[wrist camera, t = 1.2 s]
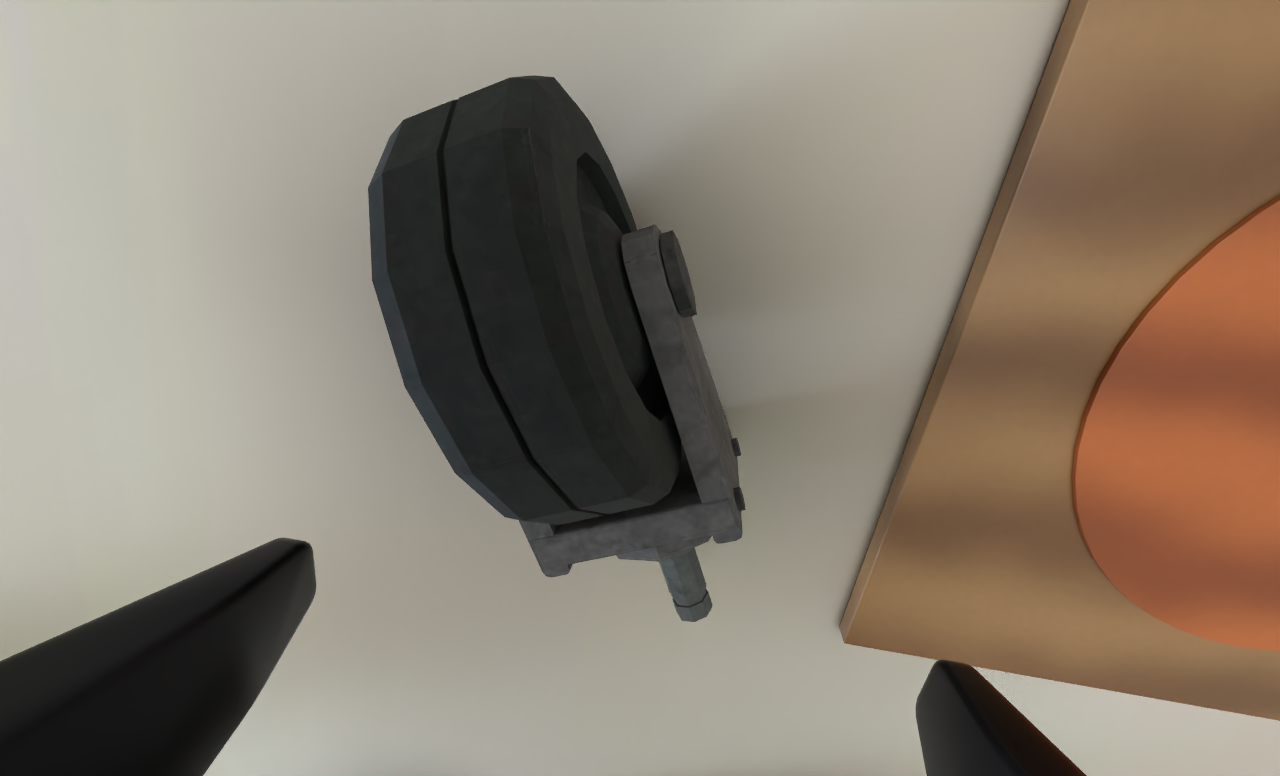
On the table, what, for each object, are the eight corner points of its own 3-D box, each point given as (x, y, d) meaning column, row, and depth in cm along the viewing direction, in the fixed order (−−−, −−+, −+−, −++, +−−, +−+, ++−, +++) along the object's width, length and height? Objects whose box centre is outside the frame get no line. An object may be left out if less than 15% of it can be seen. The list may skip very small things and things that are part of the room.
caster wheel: (464, 155, 17) (621, 582, 21) (183, 112, 8) (547, 874, 12) (648, 86, 16) (778, 552, 20) (556, -53, 7) (828, 850, 11)
